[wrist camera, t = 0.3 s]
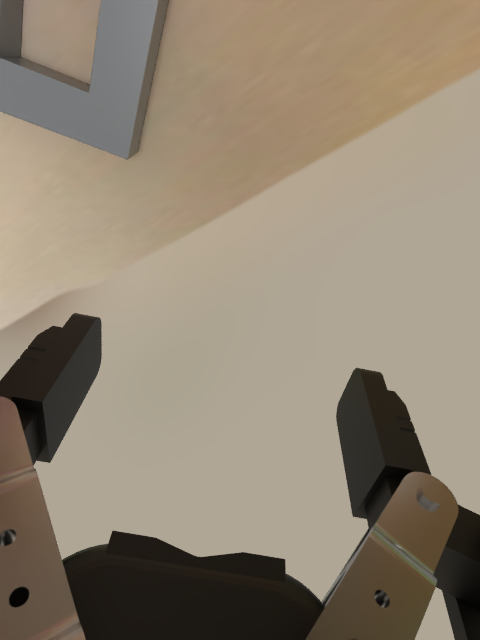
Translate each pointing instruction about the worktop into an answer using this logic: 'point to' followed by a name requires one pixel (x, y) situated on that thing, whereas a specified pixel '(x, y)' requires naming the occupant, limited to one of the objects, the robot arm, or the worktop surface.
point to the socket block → (106, 78)
